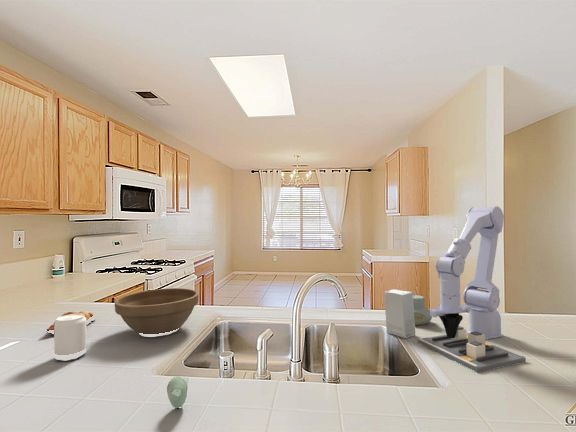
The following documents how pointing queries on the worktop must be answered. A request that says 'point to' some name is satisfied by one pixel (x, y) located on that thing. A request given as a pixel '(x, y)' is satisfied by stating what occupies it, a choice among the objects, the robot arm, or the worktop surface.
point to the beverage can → (70, 334)
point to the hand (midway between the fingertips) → (450, 337)
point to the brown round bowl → (157, 309)
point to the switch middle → (476, 337)
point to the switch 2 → (475, 350)
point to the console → (458, 353)
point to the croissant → (87, 315)
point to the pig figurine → (177, 391)
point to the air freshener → (420, 311)
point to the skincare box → (399, 313)
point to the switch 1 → (460, 333)
